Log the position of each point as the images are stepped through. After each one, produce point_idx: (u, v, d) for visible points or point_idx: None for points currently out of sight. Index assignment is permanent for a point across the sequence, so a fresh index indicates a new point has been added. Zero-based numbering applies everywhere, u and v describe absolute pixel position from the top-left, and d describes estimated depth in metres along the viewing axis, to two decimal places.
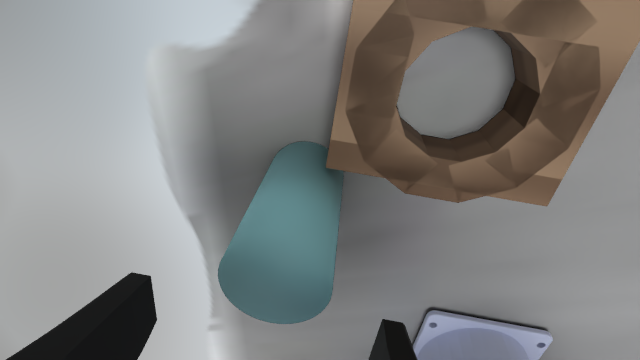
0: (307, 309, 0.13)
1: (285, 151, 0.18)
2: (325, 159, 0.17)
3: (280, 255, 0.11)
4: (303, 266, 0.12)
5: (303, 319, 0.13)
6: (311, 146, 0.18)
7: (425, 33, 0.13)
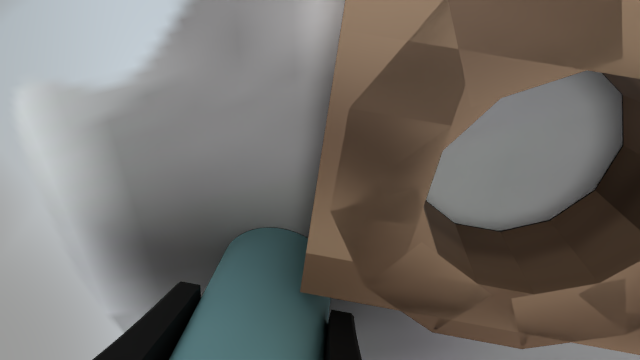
0: None
1: (239, 247, 0.11)
2: (301, 265, 0.11)
3: None
4: None
5: None
6: (280, 240, 0.11)
7: (488, 82, 0.06)
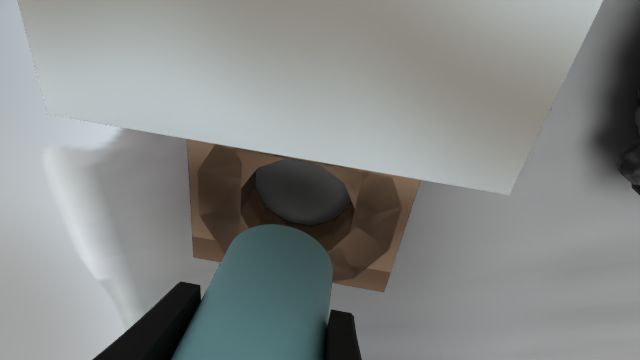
0: None
1: (248, 241, 0.11)
2: (308, 263, 0.11)
3: None
4: None
5: None
6: (288, 237, 0.12)
7: (250, 162, 0.15)
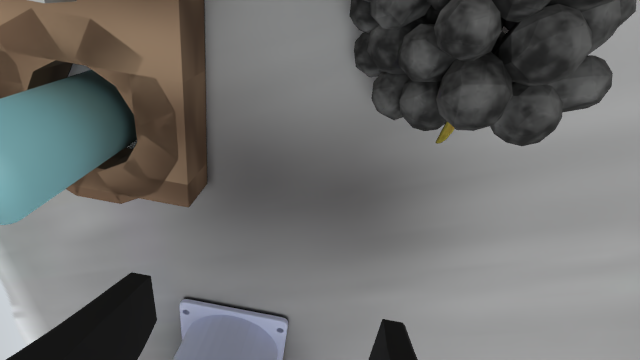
0: (13, 208, 0.12)
1: None
2: None
3: None
4: None
5: (14, 220, 0.13)
6: None
7: (25, 65, 0.16)
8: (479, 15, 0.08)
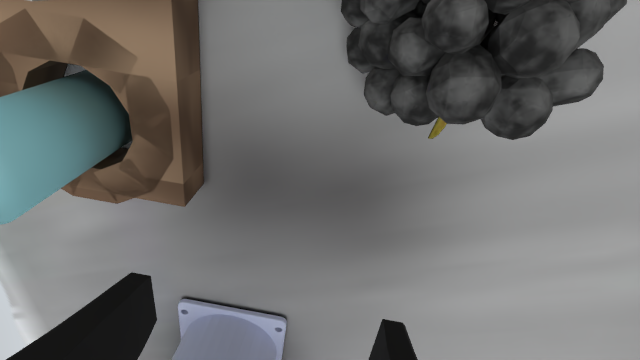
0: (6, 207, 0.12)
1: (76, 73, 0.17)
2: None
3: None
4: None
5: (8, 220, 0.13)
6: None
7: (19, 65, 0.16)
8: (465, 7, 0.08)
